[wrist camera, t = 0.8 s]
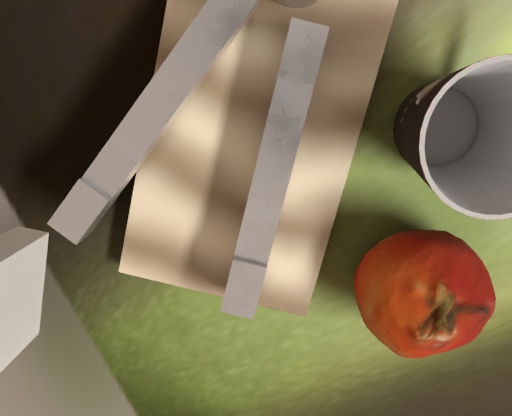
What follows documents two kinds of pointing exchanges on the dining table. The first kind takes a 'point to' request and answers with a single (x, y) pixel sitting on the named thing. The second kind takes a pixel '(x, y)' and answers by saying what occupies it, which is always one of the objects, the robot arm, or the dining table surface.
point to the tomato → (423, 292)
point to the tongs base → (275, 161)
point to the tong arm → (151, 116)
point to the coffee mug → (463, 137)
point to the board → (254, 152)
